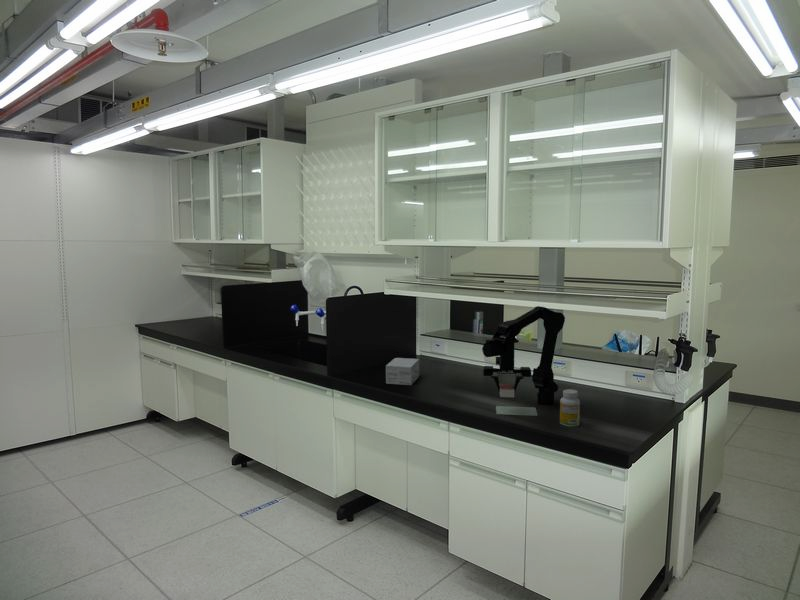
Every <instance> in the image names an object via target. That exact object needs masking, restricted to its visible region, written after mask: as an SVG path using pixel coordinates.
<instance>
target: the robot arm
mask: <svg viewBox="0 0 800 600" xmlns="http://www.w3.org/2000/svg"><path fill="white" fill-rule="evenodd" d="M538 320H543V321H542V322H543V328H544V330H545V332H544V337H543V338H544V339H543V344H542V350H541V355H540V360H539V363H538V364H539V365H538V366H537V367H536V368H535V367H533V369H531V367H530V366H520V368H515V344H518V343H519V342H520V341H519V340H518V338H517V336H519V334H520V333H521V331H522V330H523V329H524V328H527V327H528V326H530V325H531V324H533V323H535V322H536V321H538ZM565 321H566V316H565V315H564V314H563V313H562V312H561V311H560V312H559V311H554V310H551V309H549V308H547V307H545V306H539V305H537V306H534V308H532V309H530V310H529V311H526V312H525V313H524V314H522V315H520V316H518V317H517V318H514V319H510V320H506V321H503V322H500V323H499V324H498V325H497V326H498V327H497V329H496V330H495V332H494V334H493V336H492V338H491V339H485V342H484V343H483V345H482V347H481V348H482V354H483V356H484V357H486V358H492V357H495V365H496V366H499V368H494V366H493V365H484V366H483V367H482V369H483V372H482V373H483V377H490V378H491V379H493V381H494V382H495V384H496V387H497V390H498V393H500V378H499V374H506V375H507V374H508V375H509V374H512V375H513V374H514V383H513V386H514V394H515V393H516V391H517V387H518V385H519V383H520V382H521V380H523V379H524V378H531V379H532V381H531V382H532V383H533V384H534V387H535V389H537V392H536V403H537V405H538V406H555V393H556V392H558V390H559V385H558V384H557V383H556V382H555V381H554V380H555V379H554V378H555V375H554V370H553V368H552V367H553V361H554V356H555V351H556V347H557V346H556V344H557V340H558V335H559V333H560V332H561V331H562V330H563V328H564V325H565Z"/></svg>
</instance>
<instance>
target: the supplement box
mask: <svg viewBox="0 0 800 600" xmlns="http://www.w3.org/2000/svg"><path fill="white" fill-rule="evenodd" d="M419 377H420V359H419V358H408V357H407V358H404V357H395V358H393V359H392V360H391V361H390V362H388V363H387V364H386V365H385V383H386V384H387V385H388V384H389V385H390V384H391V385H403V386H412V385H413V384H414V383H415V382H416V381H417V379H418V378H419Z"/></svg>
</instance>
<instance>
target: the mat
mask: <svg viewBox="0 0 800 600" xmlns="http://www.w3.org/2000/svg"><path fill="white" fill-rule="evenodd" d="M495 413H496V415H511V416H512V415H513V416H533V417H535V416H537V417H538V412H537V409H536V407H531V406H530V407H529V406H528V407H527V406H526V407H525V406H504V405H503V406H501V405H496V406H495Z"/></svg>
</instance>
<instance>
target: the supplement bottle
mask: <svg viewBox="0 0 800 600" xmlns="http://www.w3.org/2000/svg"><path fill="white" fill-rule="evenodd" d="M578 397H579V393H578V390H576V389H568V388H567V389H564V390H562V397H561V398H560V400H559V424H560V425H563V426H566V427H577V426H579V425H580V418H581V417H580V416H581V415H580V414H581V400H580V399H579V398H578Z"/></svg>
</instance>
